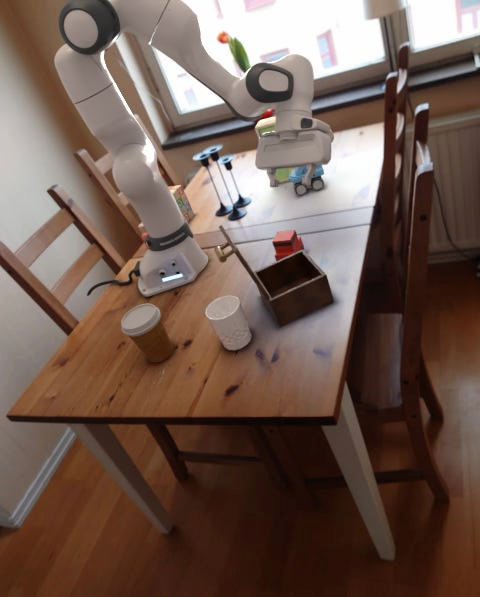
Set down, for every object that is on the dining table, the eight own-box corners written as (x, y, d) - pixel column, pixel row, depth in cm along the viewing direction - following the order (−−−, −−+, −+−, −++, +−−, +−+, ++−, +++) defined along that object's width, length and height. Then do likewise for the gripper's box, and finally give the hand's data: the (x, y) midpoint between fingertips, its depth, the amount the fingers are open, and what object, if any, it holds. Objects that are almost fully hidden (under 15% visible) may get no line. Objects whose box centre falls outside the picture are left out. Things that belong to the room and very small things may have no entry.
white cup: (235, 325, 112) (220, 292, 106) (260, 332, 107) (246, 298, 101) (214, 347, 108) (198, 315, 102) (240, 356, 103) (224, 322, 97)
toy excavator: (345, 182, 150) (333, 130, 140) (294, 198, 153) (279, 148, 144) (340, 172, 157) (329, 122, 147) (292, 187, 160) (278, 139, 151)
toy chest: (311, 274, 117) (303, 248, 113) (334, 302, 106) (326, 274, 102) (261, 297, 117) (251, 272, 112) (279, 327, 106) (269, 301, 101)
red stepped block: (297, 268, 121) (289, 243, 117) (279, 269, 124) (270, 244, 119) (305, 250, 127) (297, 225, 122) (287, 252, 129) (279, 227, 125)
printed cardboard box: (163, 249, 156) (146, 217, 150) (149, 249, 160) (132, 218, 153) (195, 214, 170) (181, 184, 163) (181, 215, 173) (167, 185, 166)
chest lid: (221, 224, 104) (205, 235, 104) (237, 250, 93) (218, 262, 93) (252, 270, 112) (237, 280, 112) (270, 298, 101) (253, 310, 101)
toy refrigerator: (272, 185, 167) (253, 128, 155) (276, 176, 172) (258, 120, 161) (293, 181, 164) (276, 122, 152) (297, 171, 169) (281, 114, 157)
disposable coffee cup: (138, 352, 116) (115, 316, 109) (172, 333, 118) (152, 296, 111) (147, 374, 108) (123, 336, 102) (184, 353, 110) (162, 315, 103)
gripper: (251, 130, 119) (248, 186, 120) (322, 118, 106) (318, 181, 107) (266, 136, 124) (263, 190, 125) (336, 125, 111) (332, 185, 112)
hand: (289, 186), depth 116 cm, fingers open, 8 cm apart
